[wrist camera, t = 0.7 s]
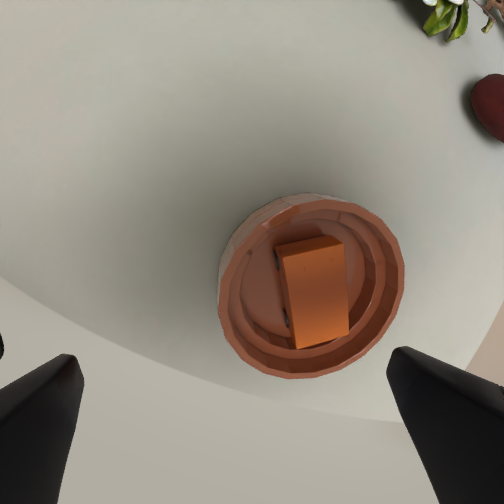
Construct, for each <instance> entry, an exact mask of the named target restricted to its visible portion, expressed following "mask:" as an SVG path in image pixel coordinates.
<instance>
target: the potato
mask: <svg viewBox="0 0 504 504" xmlns="http://www.w3.org/2000/svg"><path fill="white" fill-rule="evenodd" d="M471 103H472V106H473V110H474V112H475V113H476V115H477V117H478V119H479V120H480V122H481V123H482V124H483V125H484V127H485V128H486V129H487V130H488V131H489V133H490V134H491V135H493V136H494V137H495V138H497V139H498V140H499V141H501V142H502V143H504V75H501V74H490V75H487V76H486V77H484V78H483V79H481V80H480V81H478V82H477V83H476V85H475V86H474V88H473V90H472V92H471Z"/></svg>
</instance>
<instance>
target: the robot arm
mask: <svg viewBox="0 0 504 504" xmlns="http://www.w3.org/2000/svg"><path fill="white" fill-rule="evenodd" d="M386 375H387V379H388V381H389V384H390V387H391V390H392V392H393V395H394V398H395V401H396V403H397V406H398V409H399V412H400V414H401V417H402V419H403V421H404V424H405V426H406V428H407V430H408V432H409V434H410V436H411V438H412V440H413V443H414V445H415V447H416V449H417V452H418V454H419V456H420V458H421V461H422V463H423V465H424V467H425V470H426V472H427V474H428V477H429V479H430V482H431V484H432V486H433V489H434V491H435V494H436V496H437V499H438V501H439V504H504V387H503V386H499V385H498V384H495V383H493V382H490V381H488V380H485V379H483V378H481V377H478V376H476V375H473V374H471V373H469V372H466V371H464V370H461V369H459V368H457V367H454V366H452V365H450V364H447V363H445V362H443V361H440V360H438V359H436V358H433V357H431V356H429V355H426V354H424V353H422V352H419V351H417V350H415V349H413V348H410V347H408V346H403V347H398V348H395V349H394V350H393V352H392V355H391V358H390V361H389V364H388V367H387V370H386ZM83 388H84V377H83V374H82V372H81V369H80V366H79V363H78V360H77V358H76V357H75V356H74V355H69V354H61V355H59V356H57V357H55V358H54V359H52V360H50V361H49V362H47V363H45V364H43V365H41V366H40V367H38V368H36V369H35V370H33V371H31V372H29V373H28V374H26V375H24V376H22V377H21V378H19V379H17V380H16V381H14V382H12V383H10V384H9V385H7V386H5V387H4V388H2V389H0V504H57V502H58V497H59V492H60V487H61V483H62V478H63V474H64V470H65V466H66V462H67V458H68V454H69V450H70V447H71V443H72V439H73V436H74V432H75V428H76V423H77V418H78V413H79V408H80V402H81V398H82V393H83Z"/></svg>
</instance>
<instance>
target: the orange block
mask: <svg viewBox="0 0 504 504" xmlns="http://www.w3.org/2000/svg"><path fill="white" fill-rule="evenodd" d="M275 249H276V250H275V251H273V260H274V264H275V268H276V270H277V271H279V272H280V278H281V284H282V290H283V296H284V302H285V308H286V310H283V318H284V322H285V325H286V327H287V328H289V332H290V335H291V337H292V339H293V342H294V344H295V346H296V349H301V348H304V347H308V346H312V345H315V344H319V343H322V342H326V341H329V340H333V339H336V338H339V337H342V336H346V335H348V334H349V317H348V295H347V278H346V264H345V252H344V244H343V243H342V242H341V241H339V240H338V239H336V238H335V237H333V236H332V235H330V234H329V235H325V236H320V237H316V238H311V239H307V240H302V241H298V242H293V243H289V244H284V245H280V246H276V247H275Z"/></svg>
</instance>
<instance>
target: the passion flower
mask: <svg viewBox="0 0 504 504" xmlns="http://www.w3.org/2000/svg"><path fill="white" fill-rule="evenodd" d="M422 1H423V2H424V3H425V4H426V5H429V6H435V5H436V7H435V9H434V10H433V11H432V13H431V14H430V16H429V17H428V19H427V20H426V22H425V24H424V26H423V29H424V30H425V31H426V34H427V35H428V36H433V35H437V34H438V33H441V32H443V31H444V30H445V29H447V28H448V27H449V26H450V24H451V21H452V19H453V17H454V15H455V10H456V8H457V7H458V11H457V18H456V22H455V23H454V26H453V29H452V30H451V33H450V35H449V37H448V39H446V40H445V43H448V42H449V41H451V40H454V39H457V38H459V37H460V36H461V35H463V34H464V33H465V31H466V28H467V24H468V11H467V10H468V8H469V4H468V2H467V1H468V0H422ZM474 1H475V0H474ZM475 2H476V3H477V4H478V5H479V6H480V7H481V8H482V9H483V10H484V11H486V10H485V9H484V8H483V7H482V6H481V5H480V4H479V3H478V2H477V1H475ZM486 12H487V11H486ZM487 13H488V12H487ZM488 14H489V13H488ZM489 15H490V14H489ZM490 16H491V15H490ZM491 17H492V16H491ZM492 18H493V17H492ZM492 18H490V17H489V20H488V22H487V25H486V26H485V27H484V28H482V29H481V30H482V32H483V33H487V32H488V31H489V29H490V28H491V27H492V24H493V23H494V22H496V20H495V19H494V18H493V19H492Z"/></svg>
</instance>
